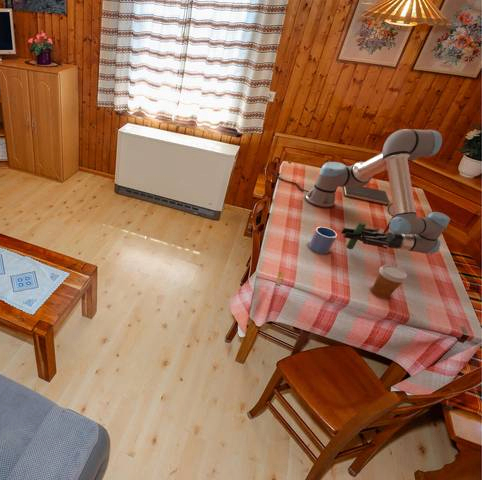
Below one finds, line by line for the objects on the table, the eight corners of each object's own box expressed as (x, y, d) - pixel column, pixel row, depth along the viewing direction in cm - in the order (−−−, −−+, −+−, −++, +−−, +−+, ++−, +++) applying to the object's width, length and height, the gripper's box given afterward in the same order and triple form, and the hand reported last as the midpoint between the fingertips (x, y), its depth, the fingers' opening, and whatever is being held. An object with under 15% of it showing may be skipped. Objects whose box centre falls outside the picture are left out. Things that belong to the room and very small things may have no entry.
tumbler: (305, 247, 182) (313, 231, 176) (313, 240, 187) (320, 224, 182) (324, 256, 177) (332, 239, 171) (331, 248, 182) (340, 232, 176)
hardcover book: (387, 205, 222) (389, 201, 220) (344, 196, 229) (346, 192, 227) (383, 193, 234) (385, 190, 232) (342, 185, 241) (344, 182, 240)
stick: (345, 247, 178) (358, 222, 170) (347, 244, 180) (360, 220, 172) (351, 250, 177) (365, 225, 169) (353, 247, 178) (367, 223, 170)
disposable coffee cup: (389, 288, 160) (404, 267, 153) (396, 303, 152) (411, 281, 145) (365, 283, 162) (378, 261, 155) (370, 297, 154) (384, 275, 148)
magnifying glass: (392, 236, 194) (412, 203, 182) (393, 238, 192) (413, 204, 181) (373, 231, 197) (392, 198, 185) (373, 233, 195) (392, 200, 184)
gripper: (401, 257, 167) (345, 249, 171) (387, 237, 180) (335, 230, 183) (410, 244, 163) (352, 235, 166) (395, 224, 176) (342, 217, 179)
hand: (344, 232), depth 175 cm, fingers closed on stick, 3 cm apart
